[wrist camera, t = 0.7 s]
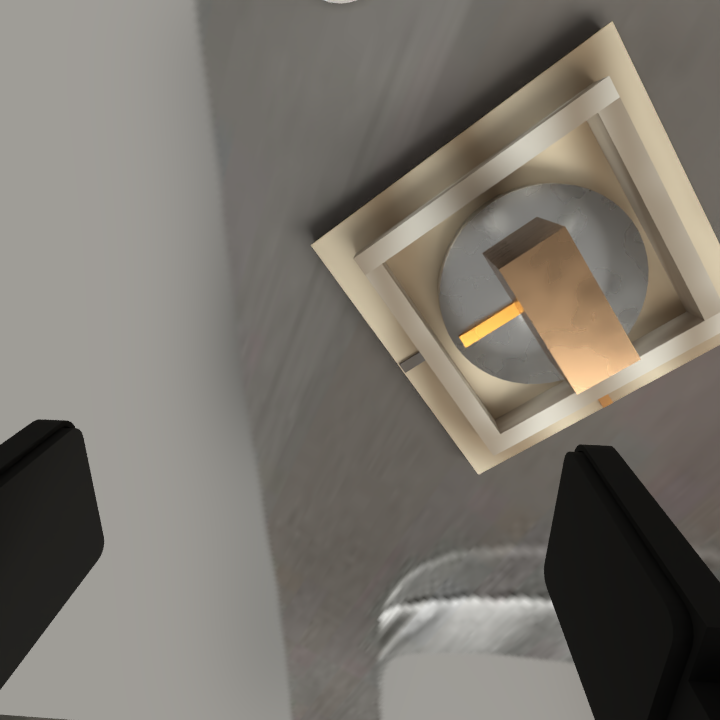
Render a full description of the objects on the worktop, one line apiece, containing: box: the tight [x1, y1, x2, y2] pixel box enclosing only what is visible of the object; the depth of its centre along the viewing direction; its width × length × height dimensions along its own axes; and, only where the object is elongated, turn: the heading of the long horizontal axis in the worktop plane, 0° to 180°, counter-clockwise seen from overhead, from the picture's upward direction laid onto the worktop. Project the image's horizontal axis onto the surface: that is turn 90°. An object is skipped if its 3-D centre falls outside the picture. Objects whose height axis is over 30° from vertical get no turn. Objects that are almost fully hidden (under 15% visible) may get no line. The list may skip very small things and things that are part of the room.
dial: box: [438, 183, 649, 395], centre depth 28 cm, size 12×12×7 cm
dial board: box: [311, 22, 720, 475], centre depth 31 cm, size 20×20×4 cm
